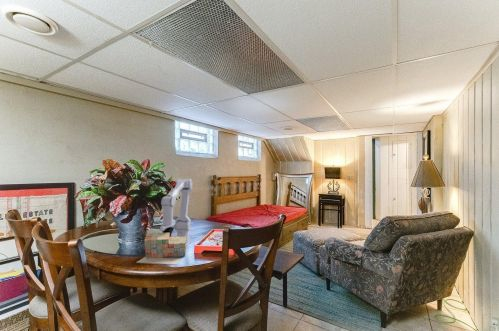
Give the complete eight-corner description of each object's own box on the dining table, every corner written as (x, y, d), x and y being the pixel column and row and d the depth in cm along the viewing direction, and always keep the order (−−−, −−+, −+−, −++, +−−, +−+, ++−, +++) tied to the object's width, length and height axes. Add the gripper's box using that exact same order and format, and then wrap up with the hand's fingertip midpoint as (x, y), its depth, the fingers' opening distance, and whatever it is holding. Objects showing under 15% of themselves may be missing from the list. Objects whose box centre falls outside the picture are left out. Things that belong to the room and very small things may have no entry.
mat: (144, 257, 131) (144, 256, 131) (182, 259, 129) (182, 258, 129) (136, 262, 123) (136, 262, 124) (175, 264, 121) (175, 264, 121)
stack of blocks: (186, 249, 139) (186, 231, 134) (185, 256, 133) (185, 238, 129) (148, 250, 135) (147, 232, 130) (145, 258, 129) (144, 239, 125)
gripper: (167, 214, 144) (167, 237, 143) (155, 219, 129) (154, 244, 129) (178, 215, 143) (177, 237, 142) (167, 219, 128) (166, 244, 128)
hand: (167, 240), depth 135 cm, fingers closed
